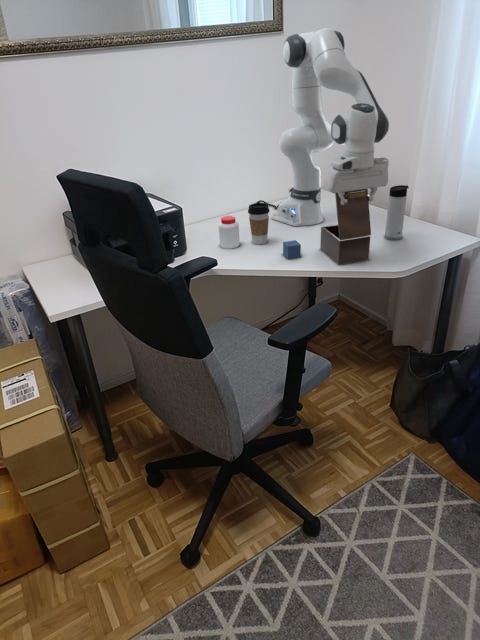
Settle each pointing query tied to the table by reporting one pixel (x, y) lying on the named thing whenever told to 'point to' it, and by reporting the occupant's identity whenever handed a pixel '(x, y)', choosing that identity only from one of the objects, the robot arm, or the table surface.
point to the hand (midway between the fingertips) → (356, 202)
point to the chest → (344, 246)
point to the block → (291, 249)
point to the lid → (353, 215)
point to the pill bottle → (229, 232)
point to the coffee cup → (259, 222)
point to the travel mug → (396, 212)
